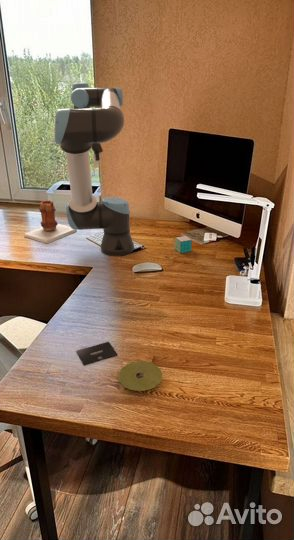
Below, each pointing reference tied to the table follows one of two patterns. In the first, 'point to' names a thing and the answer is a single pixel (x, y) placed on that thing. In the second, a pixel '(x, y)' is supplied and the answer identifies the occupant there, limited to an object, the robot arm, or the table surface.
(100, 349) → the solid state drive
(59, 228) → the cream rectangular slab
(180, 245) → the puzzle toy
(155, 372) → the olive green disc
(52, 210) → the orange brown figurine
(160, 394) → the table surface
